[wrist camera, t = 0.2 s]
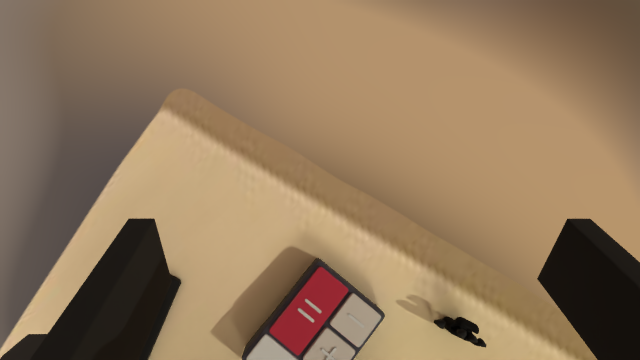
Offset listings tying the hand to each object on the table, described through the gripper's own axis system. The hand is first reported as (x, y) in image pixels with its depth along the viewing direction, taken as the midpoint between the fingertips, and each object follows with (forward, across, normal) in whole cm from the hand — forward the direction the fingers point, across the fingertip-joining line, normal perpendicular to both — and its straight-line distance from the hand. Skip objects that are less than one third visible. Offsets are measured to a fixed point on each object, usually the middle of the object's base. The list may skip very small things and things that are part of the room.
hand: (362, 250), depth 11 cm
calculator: (+21, +1, +33) cm, 39 cm away
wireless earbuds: (+21, -18, +32) cm, 43 cm away
